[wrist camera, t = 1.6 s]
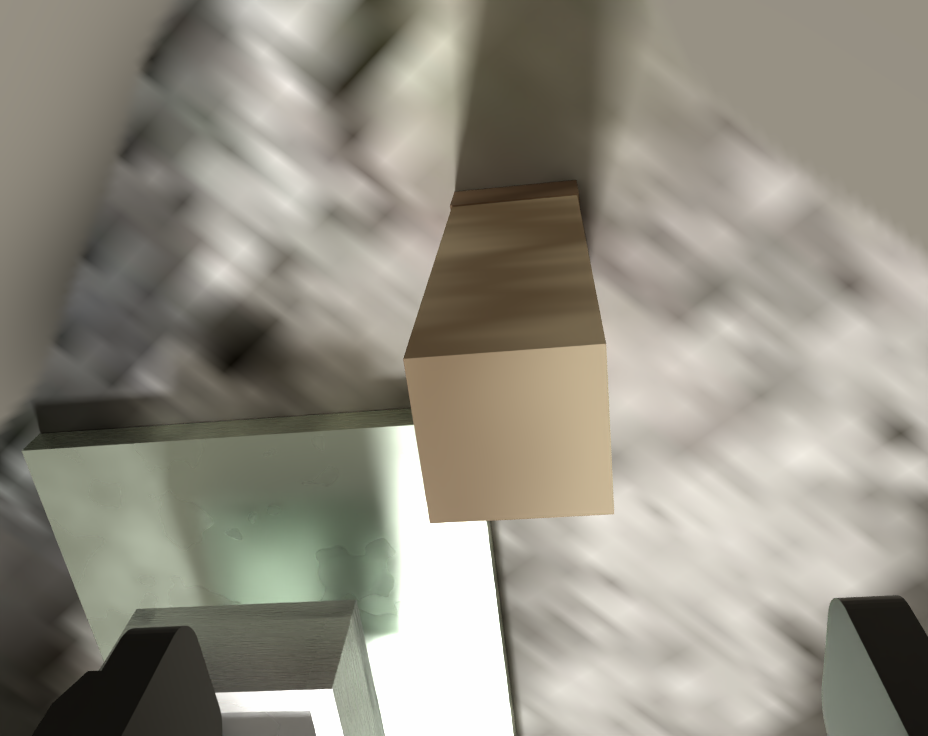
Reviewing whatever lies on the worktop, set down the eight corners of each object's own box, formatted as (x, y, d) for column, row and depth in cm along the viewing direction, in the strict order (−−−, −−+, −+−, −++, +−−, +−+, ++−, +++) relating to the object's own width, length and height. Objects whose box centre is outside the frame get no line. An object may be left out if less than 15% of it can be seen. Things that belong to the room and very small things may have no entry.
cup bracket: (475, 403, 29) (457, 550, 22) (528, 832, 38) (527, 1033, 31) (39, 433, 31) (-110, 577, 24) (190, 836, 40) (116, 1026, 33)
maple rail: (576, 180, 26) (608, 340, 15) (582, 295, 27) (617, 515, 16) (454, 191, 26) (399, 356, 15) (468, 304, 28) (427, 526, 17)
